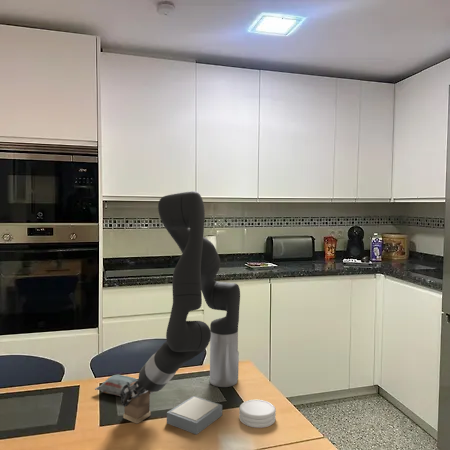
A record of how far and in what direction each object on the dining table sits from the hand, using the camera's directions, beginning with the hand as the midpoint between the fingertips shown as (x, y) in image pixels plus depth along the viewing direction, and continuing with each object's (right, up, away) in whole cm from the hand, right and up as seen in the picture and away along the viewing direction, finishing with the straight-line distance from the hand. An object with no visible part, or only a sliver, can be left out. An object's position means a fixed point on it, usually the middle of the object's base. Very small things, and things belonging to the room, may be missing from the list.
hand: (133, 399), depth 118 cm
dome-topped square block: (+1, -4, -1) cm, 5 cm away
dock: (+17, -5, -2) cm, 18 cm away
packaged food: (-8, -4, +14) cm, 16 cm away
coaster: (+34, -5, -1) cm, 35 cm away
